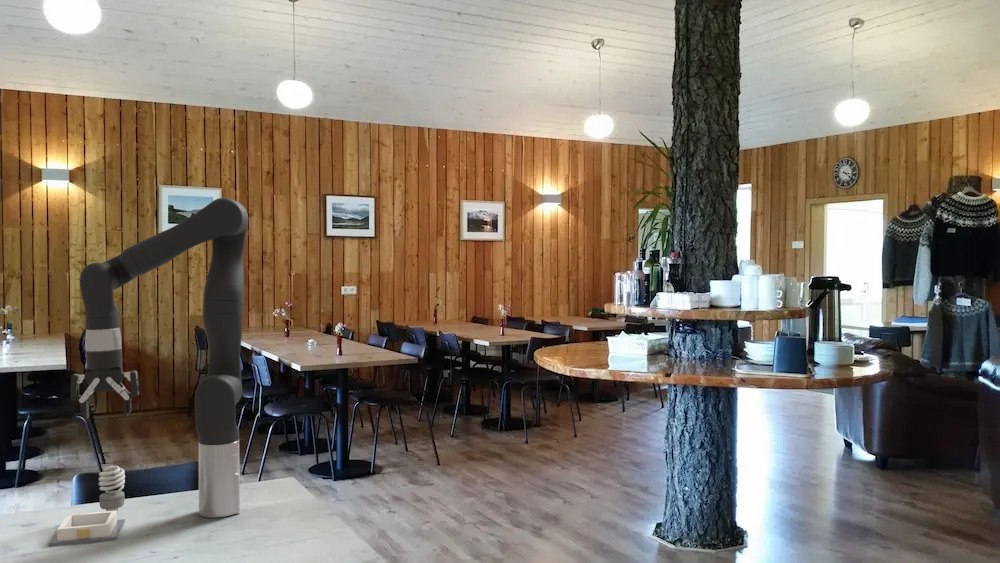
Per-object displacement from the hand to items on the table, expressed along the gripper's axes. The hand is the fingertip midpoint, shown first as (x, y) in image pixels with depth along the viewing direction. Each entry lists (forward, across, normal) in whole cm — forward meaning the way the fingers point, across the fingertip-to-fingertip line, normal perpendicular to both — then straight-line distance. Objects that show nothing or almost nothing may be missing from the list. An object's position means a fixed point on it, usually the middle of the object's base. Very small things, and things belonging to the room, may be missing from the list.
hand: (106, 416), depth 180 cm
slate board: (+24, +2, +11) cm, 26 cm away
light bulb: (+24, 0, -1) cm, 24 cm away
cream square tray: (+24, +2, +11) cm, 26 cm away
